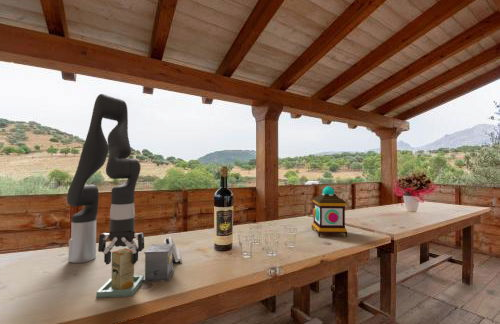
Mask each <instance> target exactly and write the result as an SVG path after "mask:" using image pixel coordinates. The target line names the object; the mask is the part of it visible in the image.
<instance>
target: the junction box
mask: <svg viewBox="0 0 500 324" xmlns="http://www.w3.org/2000/svg"><path fill="white" fill-rule="evenodd" d="M172 247H173V244H164V243H160V244H158V243H157V244H150V246H149V247H147V248H146V250H145V251H144V252H143V254H145V256H144V279H143V282H144V283H145V282H167V281H168V282H170V281H169V280H170V279H171V277H172V276H173V275H172V274H173V272H174V271H175V268H173V264H172V257H173V256H172ZM143 282H142V283H143Z"/></svg>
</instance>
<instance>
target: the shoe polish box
mask: <svg viewBox="0 0 500 324" xmlns="http://www.w3.org/2000/svg"><path fill="white" fill-rule="evenodd" d="M132 253H133V252H132V251H131V249H129V248H128V247H126V248H122V249H118V250H115V251H111V278H112V279H111V278H110V279H111V288H113V289H115V290H123V289H127V288H129V287H131V286H133V285H134V276H135V264H132Z"/></svg>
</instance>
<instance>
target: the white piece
mask: <svg viewBox="0 0 500 324" xmlns="http://www.w3.org/2000/svg"><path fill="white" fill-rule="evenodd" d="M162 244H173V247H172V265H174V263H178V262H179V263H180V264H183V260H182V255H181V250H180V248H179V247H178V246H176V243H175V241H174V239H173V236H169V237H168V238H165V239H164V240H163V242H162Z"/></svg>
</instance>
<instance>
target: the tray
mask: <svg viewBox="0 0 500 324" xmlns="http://www.w3.org/2000/svg"><path fill="white" fill-rule="evenodd" d="M144 278H145V274H144V275H134V285H133V286H131V287H129V288H127V289H123V290H115V289H113V288H111V279H112V277H110V278H109V279H108V280H107V281H106V282H105V283H103V285H102V286H101V287H100V288H99V289H98V290H97V291H96V295H95V296H96V298H97V299H98V298H99V299H101V298H119V297H120V298H123V297H133V296H134V295H135V293H136V292H137V291H138V289H139V288H140V286H141V285H142V284H143V279H144Z"/></svg>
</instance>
